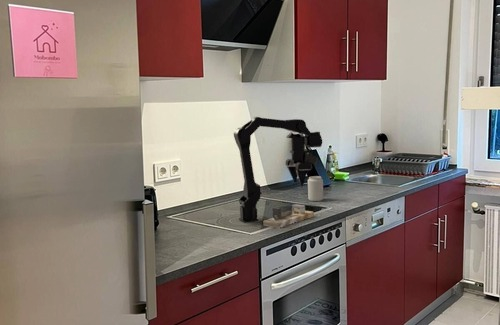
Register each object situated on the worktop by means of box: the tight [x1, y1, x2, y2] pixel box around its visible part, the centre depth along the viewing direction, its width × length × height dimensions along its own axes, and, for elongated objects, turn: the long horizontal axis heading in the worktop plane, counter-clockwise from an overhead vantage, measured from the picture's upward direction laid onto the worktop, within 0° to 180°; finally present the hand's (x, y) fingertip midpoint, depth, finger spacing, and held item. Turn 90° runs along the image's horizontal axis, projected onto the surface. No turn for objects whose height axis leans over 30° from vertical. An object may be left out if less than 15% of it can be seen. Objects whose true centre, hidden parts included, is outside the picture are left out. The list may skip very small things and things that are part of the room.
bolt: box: [272, 206, 292, 220], centre depth 202 cm, size 10×3×5 cm, turn 138°
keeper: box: [291, 203, 306, 214], centre depth 209 cm, size 3×5×3 cm, turn 48°
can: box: [307, 175, 324, 202], centre depth 245 cm, size 8×8×12 cm
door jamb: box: [263, 209, 315, 229], centre depth 205 cm, size 24×8×2 cm, turn 138°
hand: (298, 183), depth 215 cm, fingers open, 9 cm apart
